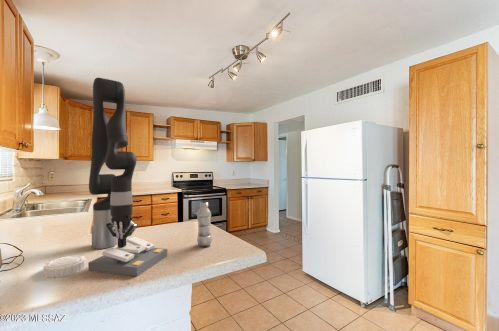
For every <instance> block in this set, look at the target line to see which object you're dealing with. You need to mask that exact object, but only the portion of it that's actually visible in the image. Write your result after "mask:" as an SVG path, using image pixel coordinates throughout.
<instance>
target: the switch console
mask: <svg viewBox="0 0 499 331" xmlns="http://www.w3.org/2000/svg"><path fill="white" fill-rule="evenodd" d="M128 253H131V252H128ZM132 254H135V255H134V258H132V259H131V260H129V261H127V262H124V261H121V260H118V259H114V258H111V257H108V256H105V255H102V256H100V257H96V258H95V259H93V260H91V261H88V262H87V263H88V272H94V273H95V272H96V273H103V274H112V275H120V276H129V277H139V276H140V275H142V274H143V273H145V272H146V271H147V270H149V269H150V268H152V267H153V266H155V265H156V264H157V263H159V262H160V261H162V260H164V259H165V258H166V257H168V248H161V247H154V248H152V249H150V250H149V251H146V250H143V251H141V252H139V253H132Z"/></svg>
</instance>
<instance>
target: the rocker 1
mask: <svg viewBox="0 0 499 331" xmlns="http://www.w3.org/2000/svg"><path fill="white" fill-rule="evenodd" d="M115 248H116V247H109V248H106V250H103V251H102V256H103V255H105V256H108V257H111V258H114V259H118V260H121V261H124V262H127V261H129V260H131V259H132V258H134V255H135V254H132V253H128V252H125V251H121V250H118V249H115Z"/></svg>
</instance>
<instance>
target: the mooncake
mask: <svg viewBox="0 0 499 331" xmlns="http://www.w3.org/2000/svg"><path fill="white" fill-rule="evenodd" d="M86 261H87V260H86V257H85V256H83V255H68V256H63V257H59V258H55V259H52V260H51V261H48V262H47V263H45V264H44V266H43V277H45V278H50V279H52V278H54V279H55V278H60V277H66V276H71V275H73V274H76V273H78V272H81V271H82V270H83V269H85V268H86V264H87V263H86Z"/></svg>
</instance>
